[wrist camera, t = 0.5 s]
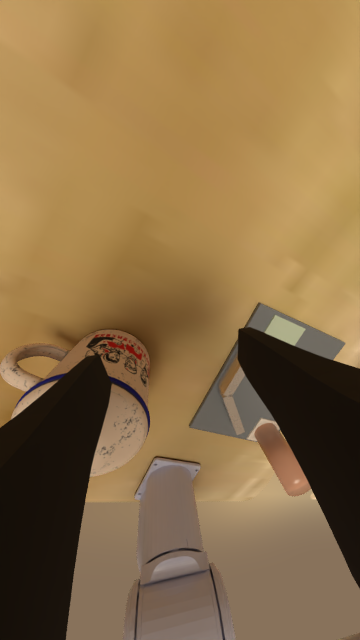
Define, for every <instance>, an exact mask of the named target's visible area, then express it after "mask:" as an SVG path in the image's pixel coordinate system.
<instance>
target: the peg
mask: <svg viewBox="0 0 360 640" xmlns="http://www.w3.org/2000/svg"><path fill="white" fill-rule="evenodd" d="M254 435H255V438H256V440H257V441H258V443H259V445H260V447H261V448H262V450H263V452H264V454H265V455H266V457H267V459H268V461H269V463H270V464H271V466H272V468H273V470H274V471H275V473H276V475H277V477H278V478H279V480H280V482H281V484H282V485H283V487H284V489H285V491H286V492H287V494H288V495H289V496H299V495H302V494H304V493H306V492H307V491H309V490H310V489H311V487H310V485H309V483H308V481H307V479H306V477H305V475H304V473H303V471H302V469H301V467H300V465H299V463H298V461H297V460H296V458H295V456H294V454H293V452H292V450H291V448H290V446H289V444H288V443H287V441H286V440H285V439H284V437H283V436H282V435H281V433H280V432H279V430H278V429H277V428H276V426H275V425H274V424H272V423H265V424H262V425H261V426H259V427H258V428H257V429H256V431H255V433H254Z"/></svg>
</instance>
